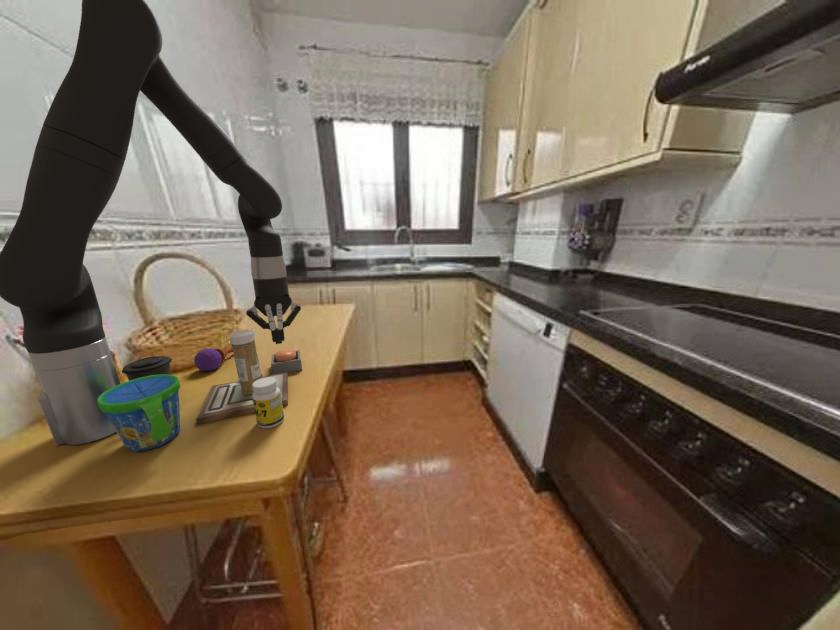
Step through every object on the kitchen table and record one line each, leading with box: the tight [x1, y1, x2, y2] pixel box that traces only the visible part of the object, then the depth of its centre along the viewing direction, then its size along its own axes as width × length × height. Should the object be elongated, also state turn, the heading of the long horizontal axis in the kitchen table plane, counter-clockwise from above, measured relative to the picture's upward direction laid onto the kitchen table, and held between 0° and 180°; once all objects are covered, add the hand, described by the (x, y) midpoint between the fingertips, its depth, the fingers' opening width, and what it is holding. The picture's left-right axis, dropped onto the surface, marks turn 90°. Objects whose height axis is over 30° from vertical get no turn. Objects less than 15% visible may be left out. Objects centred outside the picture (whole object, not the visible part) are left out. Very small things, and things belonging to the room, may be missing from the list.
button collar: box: [270, 349, 303, 375], centre depth 83 cm, size 7×7×3 cm
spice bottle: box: [228, 329, 263, 395], centre depth 67 cm, size 5×5×14 cm
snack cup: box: [97, 374, 181, 453], centre depth 54 cm, size 16×10×10 cm
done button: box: [274, 348, 297, 363], centre depth 83 cm, size 5×5×4 cm
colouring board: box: [195, 373, 289, 425], centre depth 69 cm, size 16×14×2 cm
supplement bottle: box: [252, 377, 285, 429], centre depth 59 cm, size 5×5×8 cm
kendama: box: [193, 346, 233, 372], centre depth 90 cm, size 6×6×20 cm
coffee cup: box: [121, 355, 172, 381], centre depth 66 cm, size 8×8×10 cm
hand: (278, 342), depth 80 cm, fingers closed
